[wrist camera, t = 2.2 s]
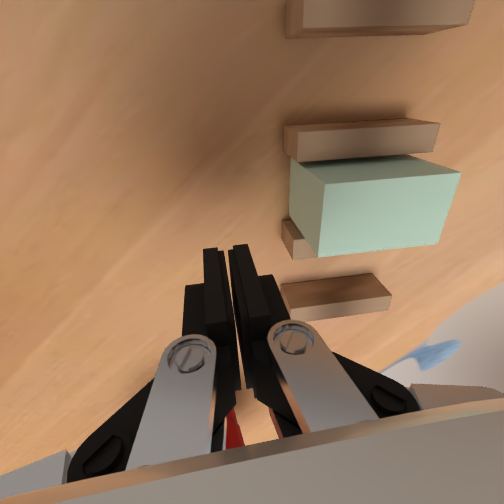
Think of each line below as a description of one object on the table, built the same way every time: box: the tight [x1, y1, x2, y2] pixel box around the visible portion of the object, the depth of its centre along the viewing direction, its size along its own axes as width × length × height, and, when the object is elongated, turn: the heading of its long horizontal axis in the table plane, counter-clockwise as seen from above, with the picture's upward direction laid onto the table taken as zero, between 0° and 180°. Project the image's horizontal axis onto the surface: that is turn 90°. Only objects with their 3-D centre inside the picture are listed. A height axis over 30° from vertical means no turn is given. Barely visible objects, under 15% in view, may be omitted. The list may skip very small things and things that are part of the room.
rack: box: [281, 0, 475, 322], centre depth 18 cm, size 8×19×3 cm, turn 2°
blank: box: [289, 154, 461, 258], centre depth 17 cm, size 7×4×6 cm, turn 92°
